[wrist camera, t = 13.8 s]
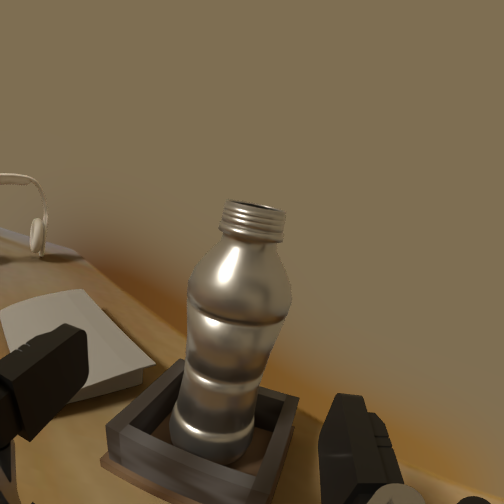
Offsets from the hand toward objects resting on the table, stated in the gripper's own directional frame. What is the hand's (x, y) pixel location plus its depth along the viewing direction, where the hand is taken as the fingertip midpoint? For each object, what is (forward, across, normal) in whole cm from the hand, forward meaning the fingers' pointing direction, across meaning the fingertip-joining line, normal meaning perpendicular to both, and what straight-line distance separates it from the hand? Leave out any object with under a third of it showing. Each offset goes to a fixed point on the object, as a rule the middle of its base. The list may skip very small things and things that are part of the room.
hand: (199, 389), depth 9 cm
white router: (+20, +20, +17) cm, 33 cm away
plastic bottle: (+11, +1, +15) cm, 19 cm away
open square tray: (+12, +1, +16) cm, 20 cm away
